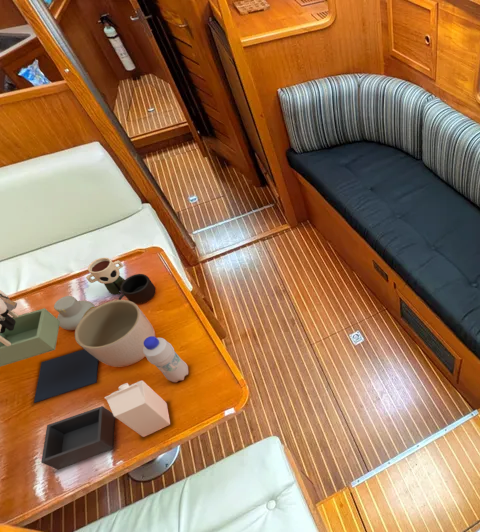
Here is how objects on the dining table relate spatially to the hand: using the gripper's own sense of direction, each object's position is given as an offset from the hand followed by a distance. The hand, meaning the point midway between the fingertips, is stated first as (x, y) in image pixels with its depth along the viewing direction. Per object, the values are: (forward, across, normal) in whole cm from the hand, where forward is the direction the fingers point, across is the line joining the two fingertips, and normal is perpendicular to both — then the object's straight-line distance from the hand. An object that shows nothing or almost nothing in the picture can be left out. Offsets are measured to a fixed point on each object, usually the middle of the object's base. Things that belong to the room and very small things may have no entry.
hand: (8, 327), depth 101 cm
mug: (+26, +20, +22) cm, 39 cm away
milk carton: (+26, +24, -26) cm, 44 cm away
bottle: (+26, +31, -14) cm, 42 cm away
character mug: (+26, +13, +30) cm, 42 cm away
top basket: (+8, 0, 0) cm, 8 cm away
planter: (+26, +18, +1) cm, 31 cm away
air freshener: (+26, +2, +20) cm, 33 cm away
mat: (+25, 0, 0) cm, 25 cm away
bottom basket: (+25, +7, -25) cm, 36 cm away
